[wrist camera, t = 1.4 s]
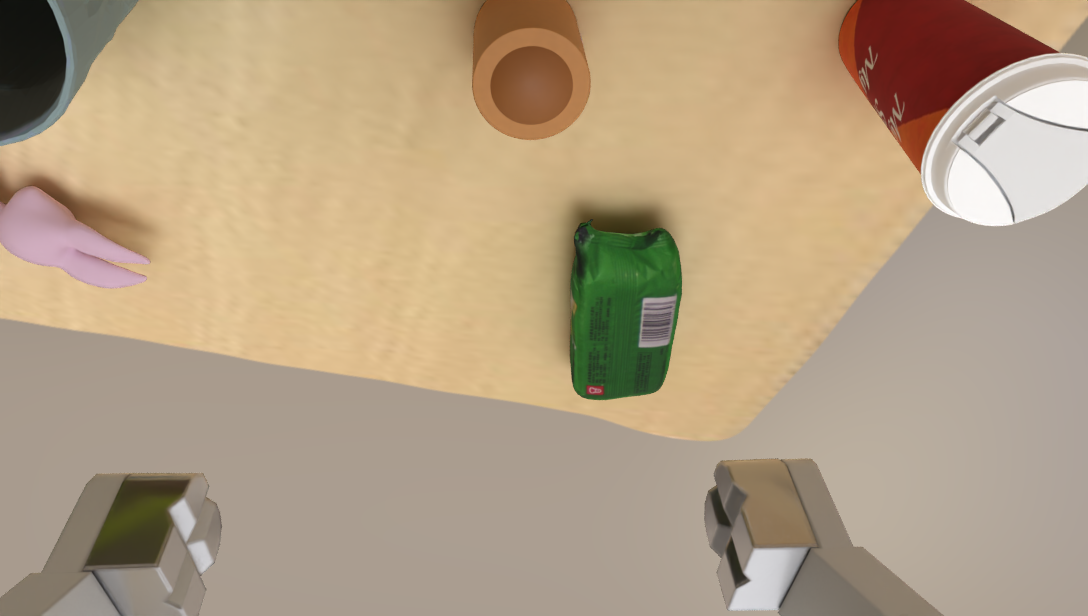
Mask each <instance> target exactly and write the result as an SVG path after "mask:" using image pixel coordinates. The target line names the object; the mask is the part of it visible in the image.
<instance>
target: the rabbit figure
mask: <svg viewBox="0 0 1088 616" xmlns="http://www.w3.org/2000/svg"><path fill="white" fill-rule="evenodd" d="M0 242H1V244H2V245H3V246H4V247H5V248H6V249H7V250H8V251H9V252H10V253H12V254H13V255H15V256H17V257H19V258H21V259H23V260H25V261H28V262H30V263H34V264H37V265H42V266H52V267H58V268H61V269H63V270H64V271H65V272H67V273H68V274H69V275H70V276H72V277H74V278H75V279H77V280H79V281H82V282H84V283H87V284H90V285H93V286H97V287H102V288H122V287H127V286H132V285H136V284H139V283H142V282H144V281H146V280H147V277H146V276H144V275H141V274H138V273H135V272H133V271H130V270H128V269H125V268H122V267H119V266H116V265H114V264H111V263H109V262H107V261H105V260H103V259H106V260H109V261H113V262H120V263H138V264H150V260H149V259H148V258H146V257H145V256H143V255H141V254H138V253H136V252H134V251H131V250H129V249H127V248H125V247H123V246H121V245H119V244H117V243H115V242H113V241H111V240H110V239H108V238H106V237H104V236H103V235H101V234H100V233H98V232H97V231H95V230H94V229H92V228H90V227H89V226H87V225H85V224H84V223H81V222H79V221H77V220H76V219H75V217H74V215H73V214H72V213H71V211H70V210H69V209H68V208H66V207H65V206H64V205H62V204H61V203H59V202H58V201H56V200H55V199H54V198H52V197H51V196H49V195H48V194H47V193H45V192H44V191H42V190H41V189H39V188H37V187H35V186H28V187H24V188H22V189H20V190H19V191H17V192H16V193H15V194H14V195H13V197H12V198H11V199H10V201H9V202H8V204H4V203H2V202H1V201H0ZM98 257H99V258H98ZM100 258H103V259H100Z"/></svg>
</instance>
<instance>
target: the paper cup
mask: <svg viewBox="0 0 1088 616" xmlns="http://www.w3.org/2000/svg"><path fill="white" fill-rule="evenodd" d="M839 52H840V55H841V58H842V61H843V63H844V64H845V66H846V68H847V70H848V71H849V73H850V74H851V76H852V77H853V79H854V80H855V82H856V83H857V85H858V86H859V88H860V89H861V90H862V92H863V93H864V95H865V96H866V98H867V99H868V101H869V102H870V103H871V105H872V106H873V108H874V109H875V111H876V112H877V113H878V115H879V116H880V118H881V119H882V120H883V122H884V123H885V125H886V126H887V128H888V129H889V130H890V132H891V133H892V135H893V136H894V137H895V139H896V140H897V142H898V143H899V144H900V146H901V147H902V149H903V150H904V151H905V153H906V154H907V156H908V157H909V158H910V160H911V161H912V163H913V164H914V165H915V167H916V168H917V170H918V171H919V172H920V174H921V181H922V185H923V189H924V191H925V193H926V195H927V197H928V199H929V200H930V201H931V202H932V203H933V204H934V205H935V206H936V207H937V208H938V209H940V210H941V211H943V212H944V213H947V214H949V215H952V216H954V217H959V218H963V219H965V220H967V221H969V222H972V223H976V224H980V225H986V226H1002V225H1003V226H1004V225H1011V224H1014V223H1019V222H1021V221H1025V220H1028V219H1030V218H1033V217H1036V216H1038V215H1041V214H1044V213H1046V212H1048V211H1050V210H1052V209H1054V208H1056V207H1058V206H1059V205H1061V204H1062V203H1064V202H1066V201H1067V200H1068V199H1070V198H1071V197H1072V196H1074V195H1075V194H1076V193H1077V192H1079V191H1080V190H1081V189H1082V188H1083V187H1085V186H1086V185H1087V184H1088V58H1087V57H1084V56H1081V55H1077V54H1069V53H1060V52H1058V51H1056V50H1054V49H1052V48H1051V47H1049V46H1047V45H1045V44H1043V43H1042V42H1040V41H1038V40H1036V39H1034V38H1032V37H1031V36H1029V35H1027V34H1025V33H1023V32H1022V31H1020V30H1018V29H1016V28H1014V27H1012V26H1011V25H1009V24H1007V23H1005V22H1003V21H1002V20H1000V19H998V18H996V17H994V16H992V15H991V14H989V13H987V12H985V11H983V10H981V9H980V8H978V7H976V6H974V5H972V4H970V3H968V2H967V1H965V0H858V1H857V2H856V3H855V4H854V5H853V6H852V8H851V9H850V11H849V12H848V14H847V16H846V17H845V19H844V22H843V24H842V27H841V30H840V34H839ZM1013 222H1014V223H1013Z"/></svg>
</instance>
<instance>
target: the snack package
mask: <svg viewBox="0 0 1088 616" xmlns="http://www.w3.org/2000/svg"><path fill="white" fill-rule="evenodd" d="M592 220H593V219H591V220H590V221H588V222H587V223H581V224H580V225H579V227H578V229H577V230H576V232H575V236H574V243H575V247H576V256H575V259H574V263H573V267H572V273H571V283H570V307H571V335H570V363H571V375H572V383H573V387H574V389H575V391H576V392H577V394H578V395H580V396H581V397H583V398H586V399H592V400H609V399H616V398H623V397H631V396H640V395H646V394H651V393H654V392H656V391H658V390H659V389H660V388H661V386H662V385H663V382H664V380H665V377H666V374H667V371H668V367H669V361H670V356H671V349H672V344H673V340H674V334H675V329H676V325H677V319H678V312H679V306H680V301H681V295H682V273H681V264H680V257H679V251H678V248H677V246H676V244H675V241H674V239H673V238H672V236H671V235H670V233H669V232H668V231H666V230H665V229H663V228H656V229H653V230H649V231H646V232H642V233H636V234H622V233H614V232H604V231H599V230H595V229H594V228H593V227H592V226H591V221H592Z"/></svg>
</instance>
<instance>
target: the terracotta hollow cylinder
mask: <svg viewBox="0 0 1088 616" xmlns="http://www.w3.org/2000/svg"><path fill="white" fill-rule="evenodd" d="M590 83H591V80H590V72H589V68H588V64H587V60H586V56H585V52H584V48H583V44H582V41H581V37H580V33H579V29H578V25H577V21H576V18H575V15H574V13H573V11H572V9H571V7H570V5H569V4H568V3H567V1H566V0H487V1H486V2H485V3H484V5H483V6H482V8H481V9H480V11H479V13H478V15H477V18H476V21H475V27H474V44H473V79H472V87H473V95H474V99H475V102H476V105H477V107H478V109H479V111H480V113H481V114H482V116H483V117H484V118H485V119H486V121H487V122H488V123H489V124H490V125H492V126H493V127H494V128H495V129H497V130H498V131H500V132H502V133H504V134H506V135H508V136H511V137H514V138H518V139H525V140H537V139H543V138H547V137H550V136H553V135H555V134H558V133H560V132H561V131H563V130H565V129H566V128H567V127H569V126H570V125H571V124H572V123H573V122H574V121H575V120H576V119H577V118H578V117H579V115H580V114H581V112H582V111H583V109H584V107H585V105H586V103H587V100H588V97H589V93H590Z"/></svg>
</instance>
